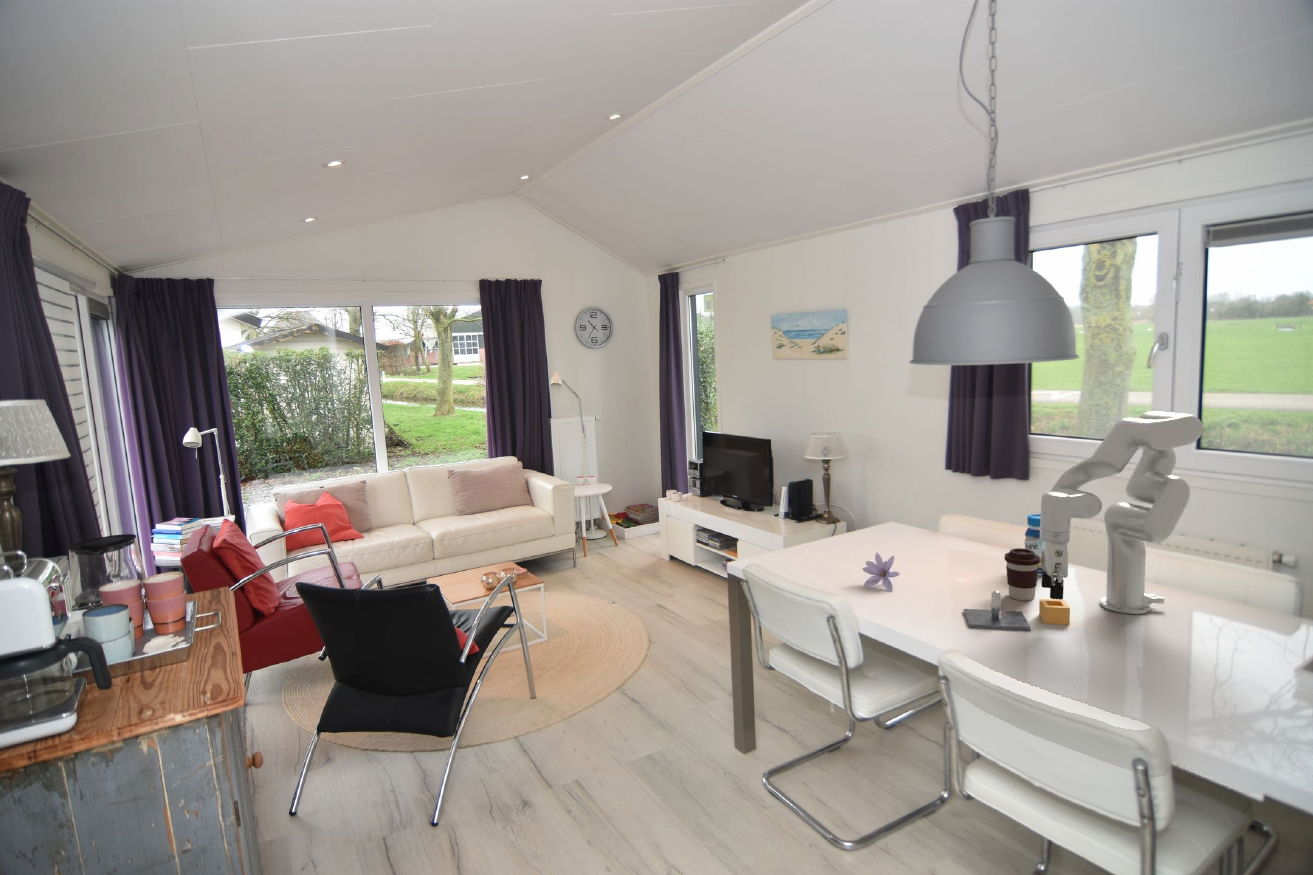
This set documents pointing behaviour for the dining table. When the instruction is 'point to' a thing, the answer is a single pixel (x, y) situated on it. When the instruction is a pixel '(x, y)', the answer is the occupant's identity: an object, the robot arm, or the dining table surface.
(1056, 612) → the orange hollow square block
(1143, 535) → the robot arm
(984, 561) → the dining table surface
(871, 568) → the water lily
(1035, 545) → the beverage bottle
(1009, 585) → the coffee cup
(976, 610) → the keeper
